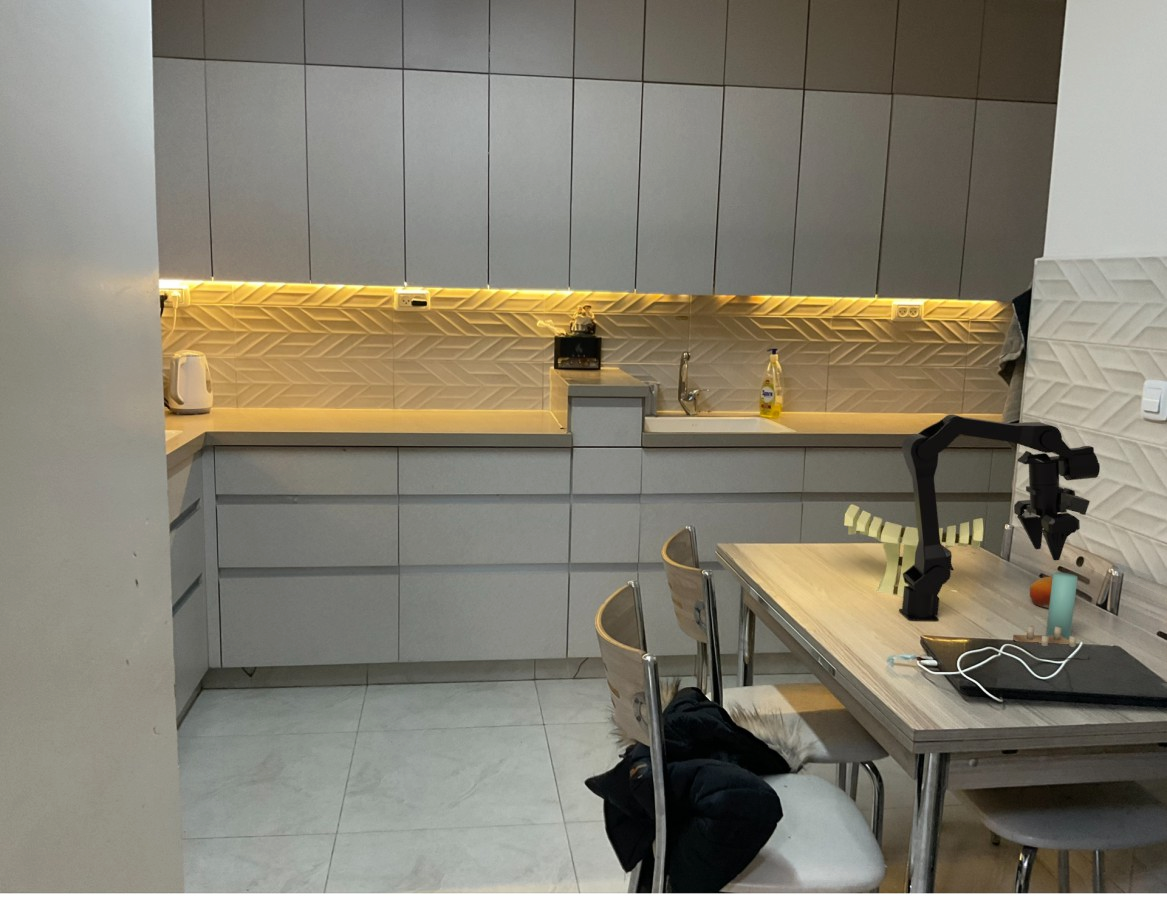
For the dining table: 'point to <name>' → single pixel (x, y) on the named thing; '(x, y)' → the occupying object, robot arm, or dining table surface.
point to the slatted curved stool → (905, 543)
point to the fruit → (1041, 591)
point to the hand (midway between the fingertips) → (1046, 554)
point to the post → (1062, 604)
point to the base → (1045, 637)
